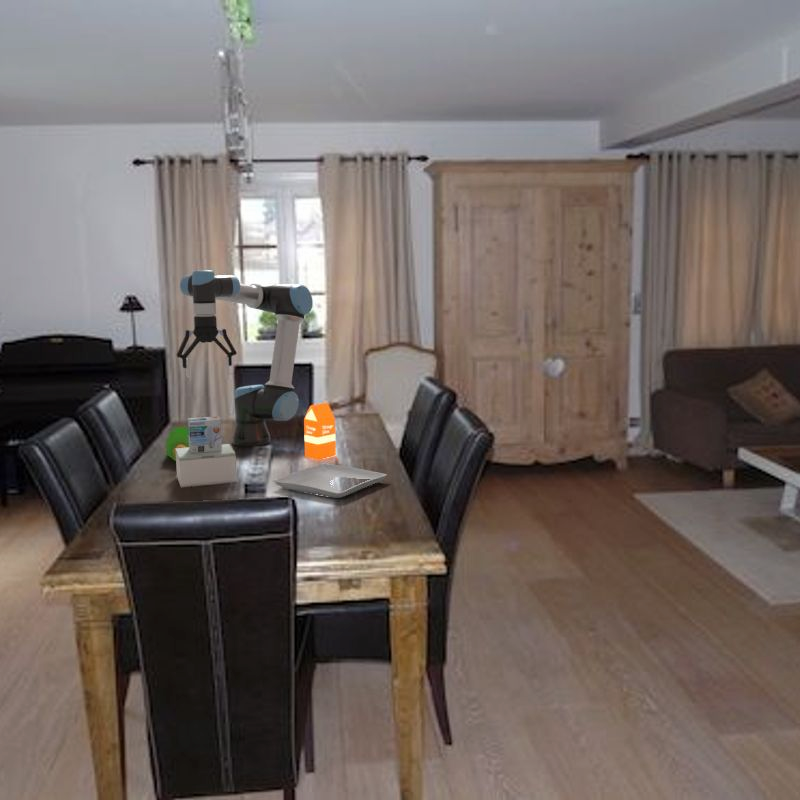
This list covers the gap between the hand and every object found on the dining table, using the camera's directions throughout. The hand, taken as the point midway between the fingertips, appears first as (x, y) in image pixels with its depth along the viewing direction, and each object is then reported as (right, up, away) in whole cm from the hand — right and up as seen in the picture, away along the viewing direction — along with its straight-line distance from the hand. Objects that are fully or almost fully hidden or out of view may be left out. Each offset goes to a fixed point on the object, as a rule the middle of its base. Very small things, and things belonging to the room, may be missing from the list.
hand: (207, 376), depth 283 cm
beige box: (+2, -35, -10) cm, 37 cm away
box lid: (+2, -26, -12) cm, 29 cm away
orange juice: (+37, -30, +20) cm, 52 cm away
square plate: (+45, -37, -19) cm, 61 cm away
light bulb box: (+2, -25, -12) cm, 28 cm away
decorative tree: (-15, -30, +22) cm, 40 cm away
